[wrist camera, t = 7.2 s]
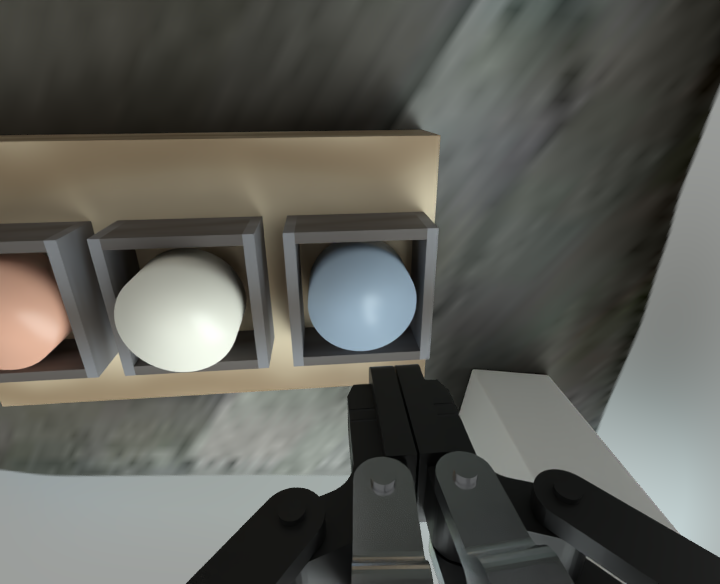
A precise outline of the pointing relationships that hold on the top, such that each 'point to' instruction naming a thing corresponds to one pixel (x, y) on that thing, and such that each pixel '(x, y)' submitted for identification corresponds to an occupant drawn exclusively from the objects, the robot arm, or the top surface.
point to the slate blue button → (360, 295)
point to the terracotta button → (29, 310)
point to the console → (215, 246)
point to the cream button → (181, 310)
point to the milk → (542, 436)
